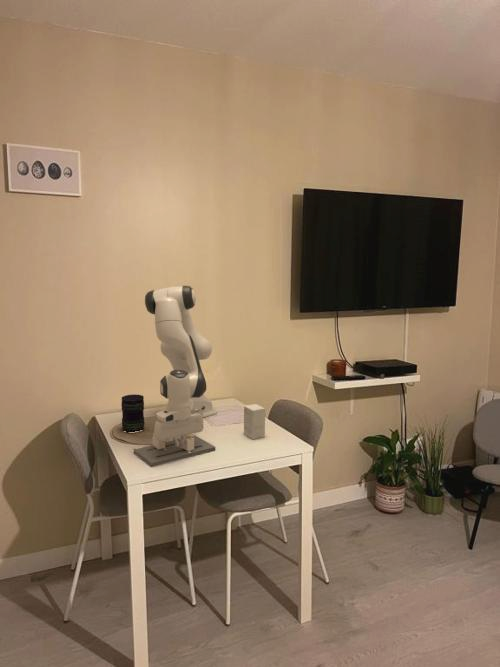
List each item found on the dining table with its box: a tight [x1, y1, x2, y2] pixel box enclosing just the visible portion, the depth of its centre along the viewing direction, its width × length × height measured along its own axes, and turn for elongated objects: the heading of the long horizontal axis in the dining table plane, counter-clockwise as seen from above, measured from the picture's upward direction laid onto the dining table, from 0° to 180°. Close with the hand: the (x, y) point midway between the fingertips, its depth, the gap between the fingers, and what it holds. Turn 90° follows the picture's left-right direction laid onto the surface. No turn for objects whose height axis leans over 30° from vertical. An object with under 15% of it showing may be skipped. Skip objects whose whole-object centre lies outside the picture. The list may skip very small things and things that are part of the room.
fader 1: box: [152, 434, 166, 450], centre depth 199 cm, size 3×5×5 cm, turn 37°
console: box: [133, 435, 216, 468], centre depth 199 cm, size 28×16×2 cm, turn 127°
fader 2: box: [180, 434, 194, 451], centre depth 197 cm, size 3×5×5 cm, turn 37°
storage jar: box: [121, 394, 145, 432], centre depth 223 cm, size 10×10×15 cm
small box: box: [243, 403, 266, 440], centre depth 217 cm, size 8×6×13 cm
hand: (179, 446), depth 195 cm, fingers closed
